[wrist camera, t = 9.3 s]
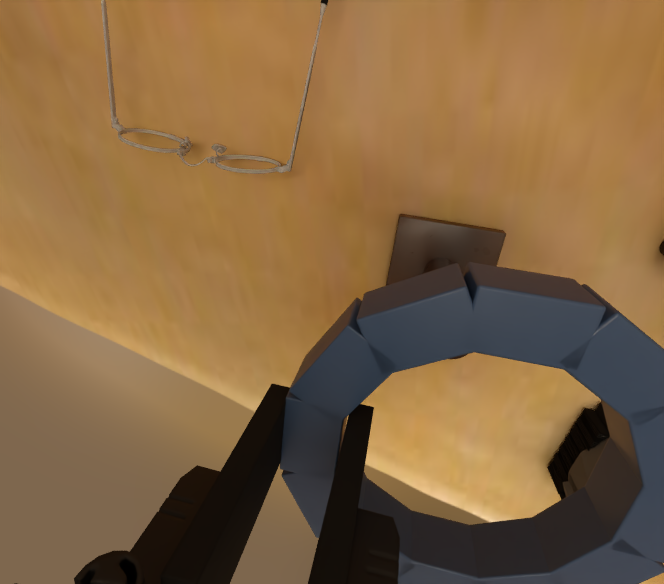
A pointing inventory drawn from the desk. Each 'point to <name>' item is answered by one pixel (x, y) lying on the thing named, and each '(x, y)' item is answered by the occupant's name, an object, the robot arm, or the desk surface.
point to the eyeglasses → (185, 142)
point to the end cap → (662, 248)
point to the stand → (440, 247)
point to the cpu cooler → (579, 452)
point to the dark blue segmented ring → (512, 343)
